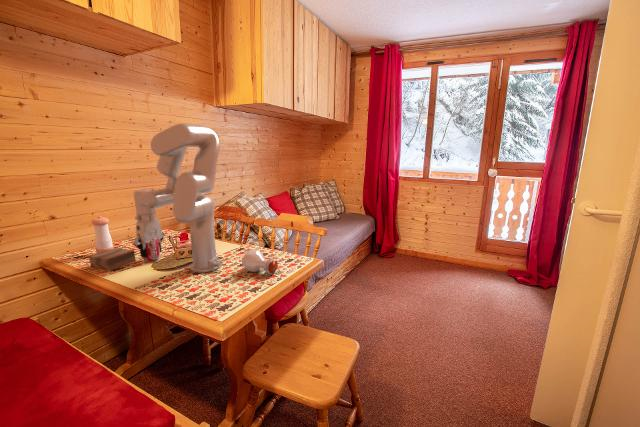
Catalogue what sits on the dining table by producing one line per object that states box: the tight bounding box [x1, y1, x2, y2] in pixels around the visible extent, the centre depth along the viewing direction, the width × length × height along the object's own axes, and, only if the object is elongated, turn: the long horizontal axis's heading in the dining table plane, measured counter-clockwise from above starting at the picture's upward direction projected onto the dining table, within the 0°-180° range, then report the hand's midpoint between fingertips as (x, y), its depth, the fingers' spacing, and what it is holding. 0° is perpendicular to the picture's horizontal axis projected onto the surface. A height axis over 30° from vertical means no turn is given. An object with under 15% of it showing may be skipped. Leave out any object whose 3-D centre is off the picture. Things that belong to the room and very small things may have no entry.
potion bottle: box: [241, 249, 279, 275], centre depth 125 cm, size 9×10×15 cm
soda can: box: [142, 236, 161, 264], centre depth 137 cm, size 7×7×12 cm
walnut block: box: [88, 247, 136, 272], centre depth 134 cm, size 12×12×5 cm
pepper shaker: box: [90, 215, 115, 254], centre depth 146 cm, size 7×7×19 cm
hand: (151, 254), depth 138 cm, fingers closed on soda can, 6 cm apart
